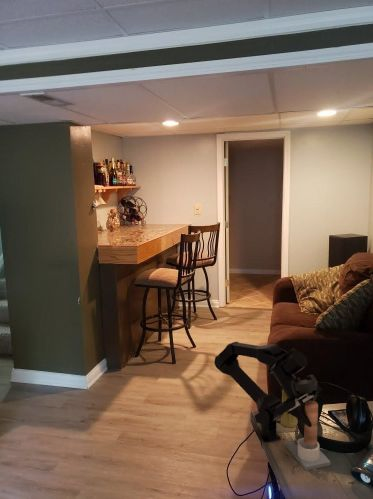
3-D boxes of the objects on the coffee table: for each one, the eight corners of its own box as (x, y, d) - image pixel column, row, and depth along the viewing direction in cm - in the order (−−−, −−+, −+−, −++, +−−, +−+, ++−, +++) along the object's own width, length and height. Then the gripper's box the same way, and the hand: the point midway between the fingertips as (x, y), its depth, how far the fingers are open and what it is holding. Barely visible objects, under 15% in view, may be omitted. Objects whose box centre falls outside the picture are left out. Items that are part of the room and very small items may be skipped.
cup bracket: (285, 445, 136) (285, 432, 135) (308, 441, 138) (308, 427, 138) (305, 470, 124) (305, 455, 123) (330, 465, 126) (330, 450, 125)
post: (301, 438, 129) (302, 401, 127) (312, 436, 130) (313, 399, 128) (308, 445, 125) (309, 408, 123) (319, 443, 126) (320, 405, 124)
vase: (297, 428, 146) (298, 392, 144) (281, 426, 147) (281, 391, 145) (296, 419, 152) (296, 384, 150) (280, 417, 153) (280, 383, 151)
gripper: (284, 378, 122) (314, 427, 115) (317, 361, 133) (347, 404, 126) (264, 392, 129) (291, 438, 122) (297, 374, 140) (324, 416, 134)
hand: (314, 424), depth 126 cm, fingers closed on post, 4 cm apart
